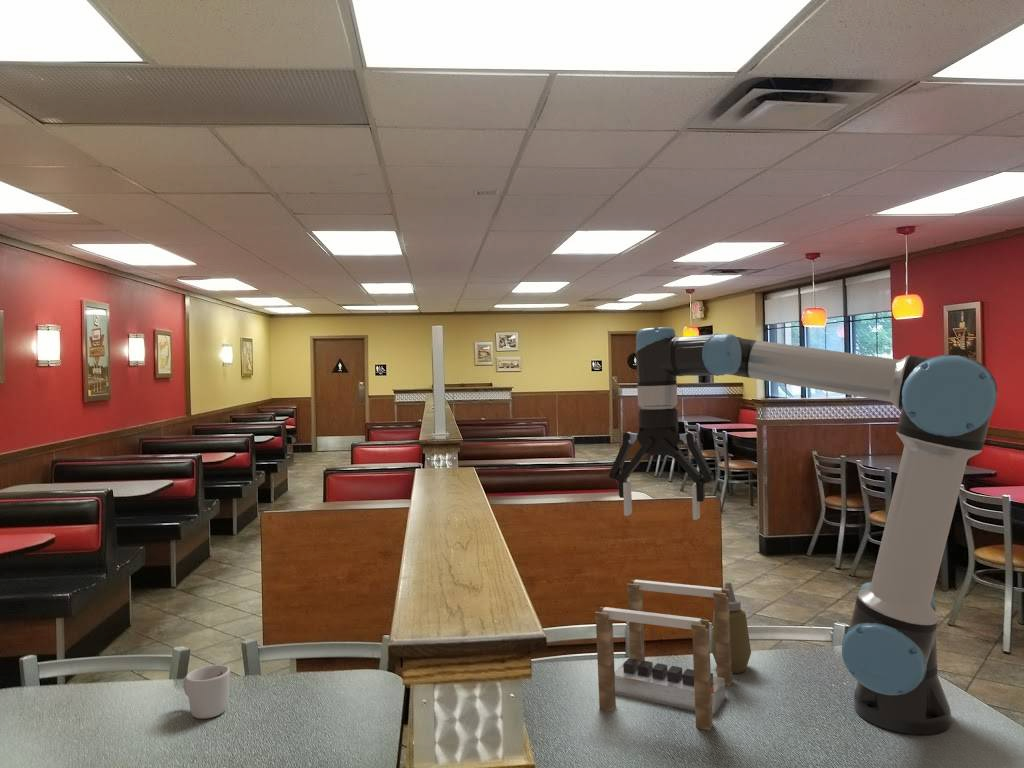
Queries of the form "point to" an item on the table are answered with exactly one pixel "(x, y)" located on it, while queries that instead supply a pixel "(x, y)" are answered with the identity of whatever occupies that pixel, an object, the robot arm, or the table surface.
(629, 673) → the breaker strip
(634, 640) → the posts
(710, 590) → the white crossbar
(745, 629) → the squeeze bottle
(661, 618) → the long white bar
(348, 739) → the table surface
